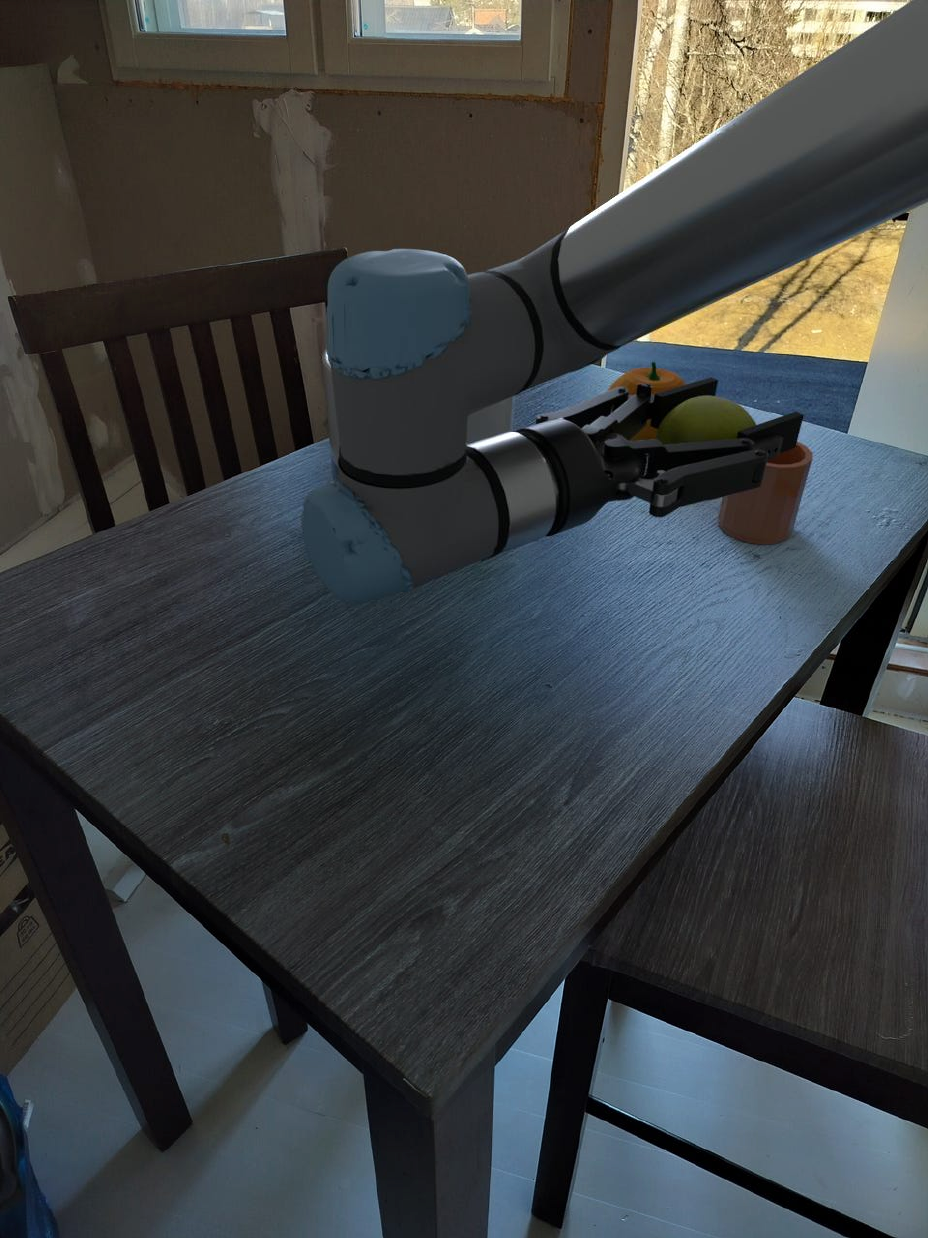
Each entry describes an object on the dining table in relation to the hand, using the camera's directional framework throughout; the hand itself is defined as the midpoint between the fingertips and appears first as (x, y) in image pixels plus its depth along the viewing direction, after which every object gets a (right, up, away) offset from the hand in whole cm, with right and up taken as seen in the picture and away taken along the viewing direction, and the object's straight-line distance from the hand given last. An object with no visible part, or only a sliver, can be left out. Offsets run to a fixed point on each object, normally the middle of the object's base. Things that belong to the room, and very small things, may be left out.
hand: (751, 411), depth 68 cm
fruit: (0, +7, +43) cm, 43 cm away
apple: (-4, -7, +1) cm, 8 cm away
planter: (-28, -5, +27) cm, 39 cm away
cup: (+9, -6, +25) cm, 27 cm away
